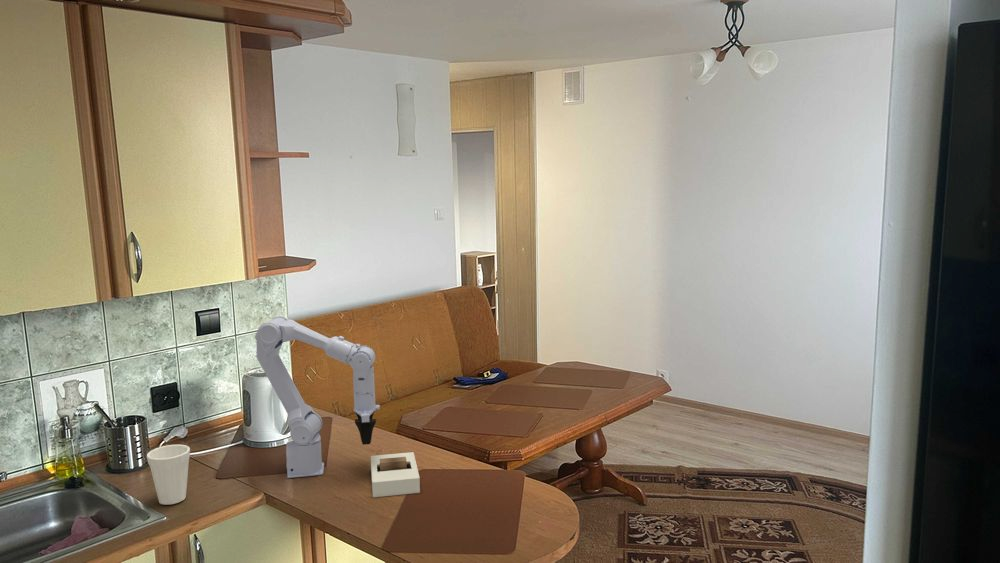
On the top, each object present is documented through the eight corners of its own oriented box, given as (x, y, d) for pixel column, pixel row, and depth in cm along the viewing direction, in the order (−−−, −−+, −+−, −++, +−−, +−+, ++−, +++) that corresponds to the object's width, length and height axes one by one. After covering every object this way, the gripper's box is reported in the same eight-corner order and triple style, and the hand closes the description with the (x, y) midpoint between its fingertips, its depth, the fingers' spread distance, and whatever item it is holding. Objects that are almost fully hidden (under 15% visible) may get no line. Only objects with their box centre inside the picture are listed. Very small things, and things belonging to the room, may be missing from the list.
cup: (167, 512, 172) (163, 462, 170) (141, 504, 177) (137, 454, 175) (202, 496, 181) (198, 448, 179) (177, 489, 185) (173, 441, 184)
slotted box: (372, 497, 179) (372, 482, 178) (371, 469, 197) (370, 455, 196) (420, 492, 181) (419, 477, 181) (414, 465, 199) (413, 452, 198)
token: (380, 484, 187) (379, 463, 186) (380, 480, 190) (379, 458, 189) (407, 482, 188) (406, 460, 187) (406, 477, 191) (405, 456, 190)
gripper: (380, 398, 186) (381, 447, 188) (378, 383, 200) (379, 428, 202) (352, 400, 184) (355, 449, 186) (352, 384, 199) (354, 430, 200)
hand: (366, 438), depth 194 cm, fingers open, 7 cm apart
